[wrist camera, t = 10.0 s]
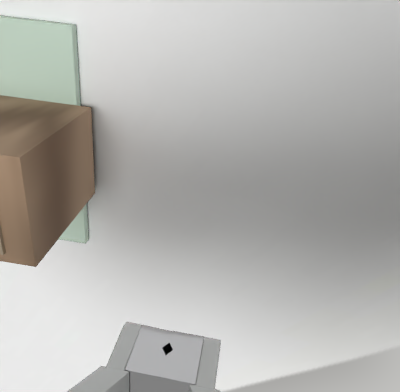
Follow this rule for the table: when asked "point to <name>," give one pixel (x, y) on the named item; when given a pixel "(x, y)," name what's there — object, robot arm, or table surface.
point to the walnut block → (41, 174)
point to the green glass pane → (42, 75)
